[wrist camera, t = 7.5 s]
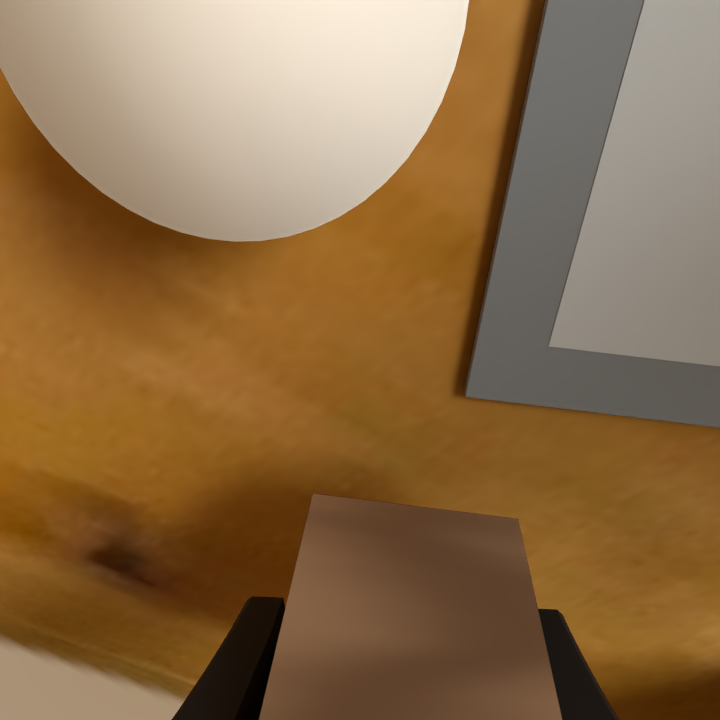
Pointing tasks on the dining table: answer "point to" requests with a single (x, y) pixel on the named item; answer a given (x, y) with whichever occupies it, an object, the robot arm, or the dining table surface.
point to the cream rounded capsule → (232, 101)
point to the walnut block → (409, 619)
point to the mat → (611, 219)
